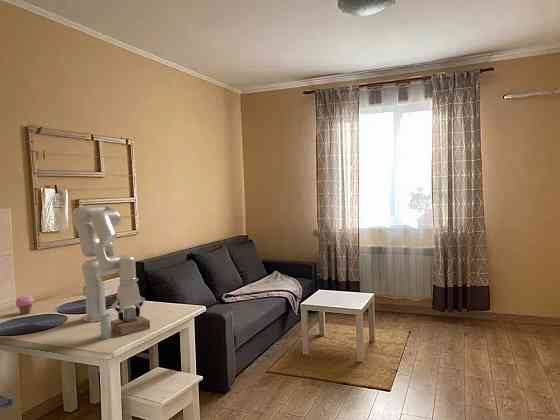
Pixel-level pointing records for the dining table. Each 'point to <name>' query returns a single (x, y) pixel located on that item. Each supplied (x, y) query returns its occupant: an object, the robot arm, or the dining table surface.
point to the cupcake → (24, 304)
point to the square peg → (129, 314)
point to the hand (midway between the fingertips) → (129, 317)
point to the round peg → (105, 326)
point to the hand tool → (110, 300)
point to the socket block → (130, 325)
